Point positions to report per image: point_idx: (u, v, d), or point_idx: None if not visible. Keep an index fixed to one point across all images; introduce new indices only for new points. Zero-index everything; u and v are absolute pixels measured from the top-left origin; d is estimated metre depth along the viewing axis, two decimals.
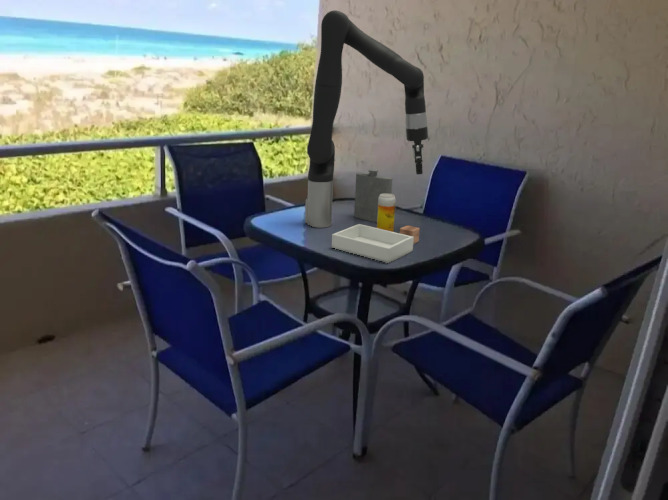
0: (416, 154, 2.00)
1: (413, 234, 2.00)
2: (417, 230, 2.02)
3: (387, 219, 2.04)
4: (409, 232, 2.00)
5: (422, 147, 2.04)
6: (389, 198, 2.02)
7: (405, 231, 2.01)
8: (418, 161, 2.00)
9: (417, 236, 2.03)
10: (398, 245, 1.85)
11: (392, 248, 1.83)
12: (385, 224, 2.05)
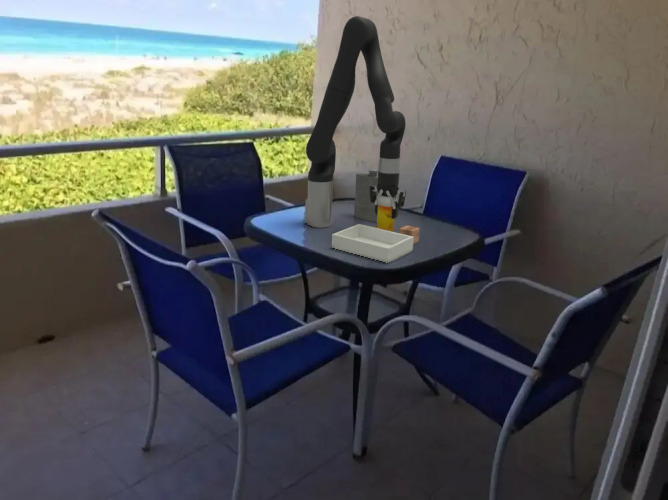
0: (402, 200, 2.01)
1: (413, 234, 2.00)
2: (417, 230, 2.02)
3: (387, 219, 2.04)
4: (409, 232, 2.00)
5: None
6: (389, 198, 2.02)
7: (405, 231, 2.01)
8: (401, 206, 2.02)
9: (417, 236, 2.03)
10: (398, 245, 1.85)
11: (392, 248, 1.83)
12: (385, 224, 2.05)
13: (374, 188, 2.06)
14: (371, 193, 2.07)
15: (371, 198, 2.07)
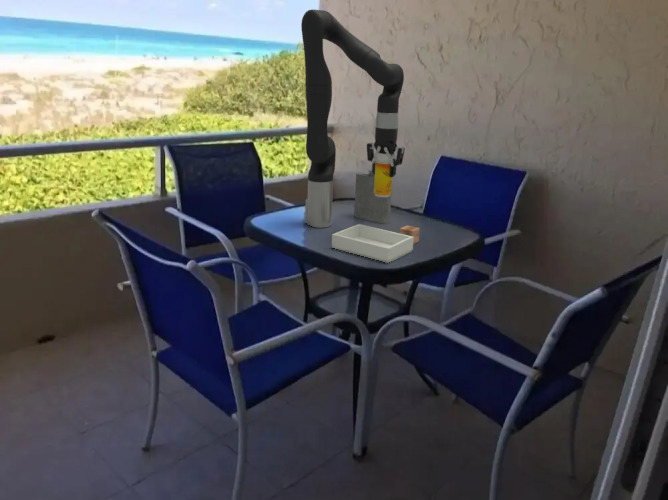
0: (400, 157, 1.93)
1: (413, 234, 2.00)
2: (417, 230, 2.02)
3: (385, 178, 1.97)
4: (409, 232, 2.00)
5: None
6: (387, 155, 1.95)
7: (405, 231, 2.01)
8: (399, 163, 1.95)
9: (417, 236, 2.03)
10: (398, 245, 1.85)
11: (392, 248, 1.83)
12: (382, 182, 1.98)
13: (371, 146, 1.99)
14: (368, 151, 1.99)
15: (368, 156, 2.00)
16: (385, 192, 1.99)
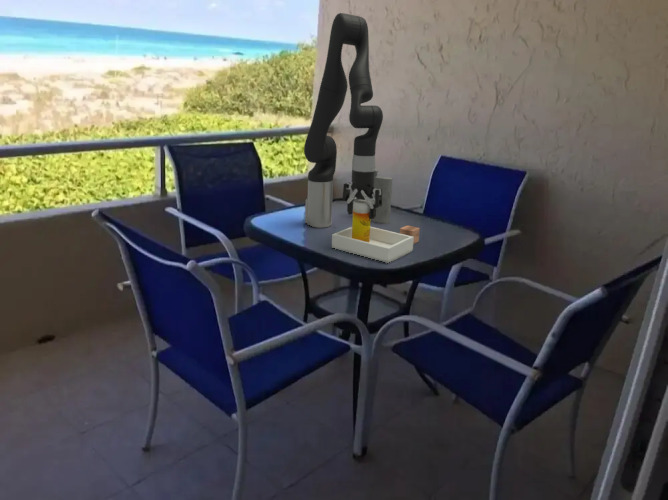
0: (379, 198, 1.87)
1: (413, 234, 2.00)
2: (417, 230, 2.02)
3: (362, 227, 1.92)
4: (409, 232, 2.00)
5: None
6: (364, 204, 1.90)
7: (405, 231, 2.01)
8: (379, 205, 1.88)
9: (417, 236, 2.03)
10: (398, 245, 1.85)
11: (392, 248, 1.83)
12: (360, 231, 1.92)
13: (348, 186, 1.93)
14: (344, 191, 1.94)
15: (344, 196, 1.94)
16: None
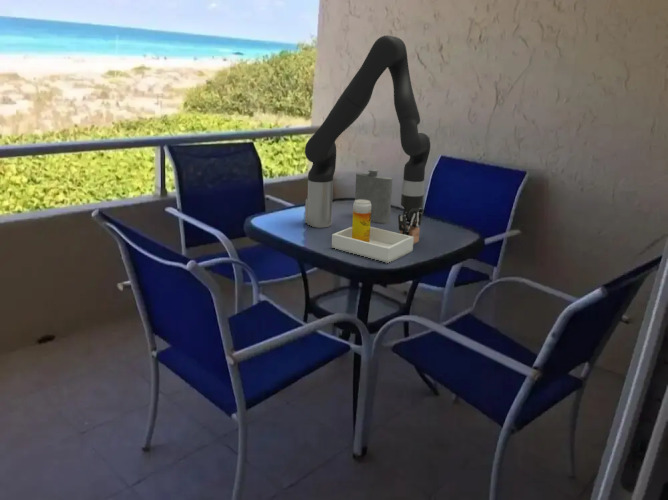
0: None
1: (413, 234, 2.00)
2: (417, 230, 2.02)
3: (363, 227, 1.92)
4: (409, 232, 2.00)
5: None
6: (364, 204, 1.90)
7: None
8: None
9: (417, 236, 2.03)
10: (398, 245, 1.85)
11: (392, 248, 1.83)
12: (360, 232, 1.92)
13: None
14: (405, 223, 1.96)
15: (405, 227, 1.97)
16: None
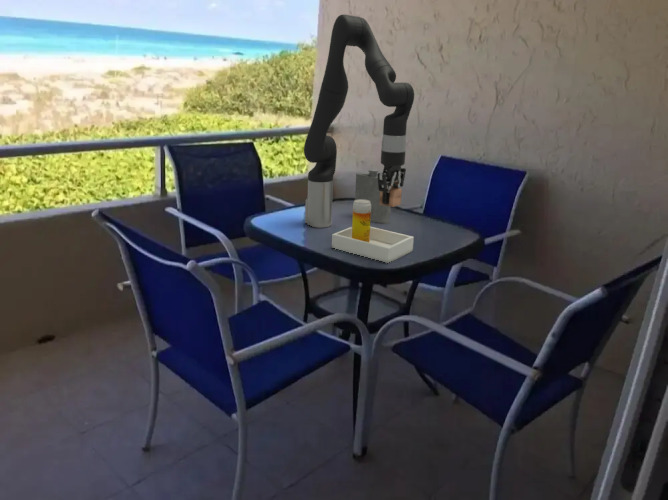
0: None
1: (394, 195, 1.82)
2: (399, 191, 1.84)
3: (362, 227, 1.92)
4: (390, 193, 1.82)
5: None
6: (364, 204, 1.90)
7: None
8: None
9: (399, 198, 1.85)
10: (398, 245, 1.85)
11: (392, 248, 1.83)
12: (360, 232, 1.92)
13: None
14: (385, 182, 1.78)
15: (385, 187, 1.79)
16: None
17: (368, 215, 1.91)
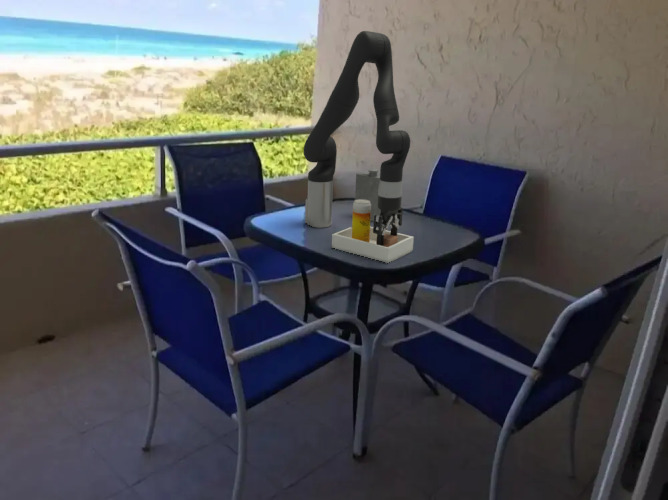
0: None
1: (390, 243, 1.87)
2: (395, 239, 1.89)
3: (362, 227, 1.92)
4: (386, 241, 1.87)
5: None
6: (364, 204, 1.90)
7: None
8: None
9: None
10: (398, 245, 1.85)
11: (392, 248, 1.83)
12: (359, 232, 1.92)
13: None
14: (381, 224, 1.82)
15: (380, 230, 1.83)
16: None
17: (368, 215, 1.91)
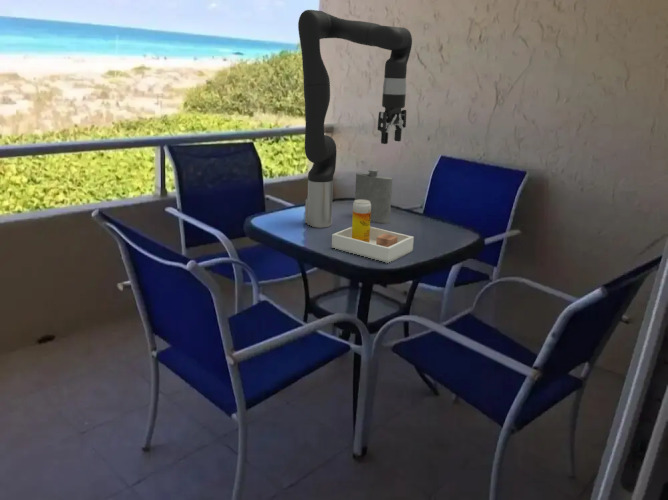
0: None
1: (390, 243, 1.87)
2: (395, 239, 1.89)
3: (362, 227, 1.92)
4: (386, 241, 1.87)
5: None
6: (364, 204, 1.90)
7: (382, 240, 1.88)
8: None
9: None
10: (398, 245, 1.85)
11: (392, 248, 1.83)
12: (359, 232, 1.92)
13: None
14: (385, 120, 1.87)
15: (385, 126, 1.87)
16: None
17: (368, 215, 1.91)
